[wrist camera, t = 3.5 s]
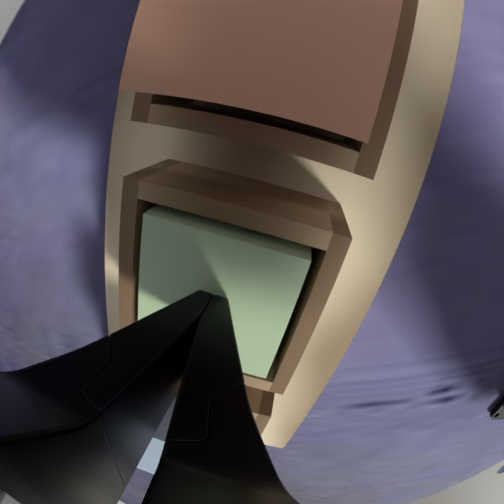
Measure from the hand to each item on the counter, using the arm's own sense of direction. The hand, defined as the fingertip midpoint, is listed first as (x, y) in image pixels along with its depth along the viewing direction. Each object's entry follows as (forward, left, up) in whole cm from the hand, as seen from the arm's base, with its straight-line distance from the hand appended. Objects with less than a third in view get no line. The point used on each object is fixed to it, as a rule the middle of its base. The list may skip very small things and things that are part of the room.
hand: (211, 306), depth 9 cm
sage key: (0, 0, -3) cm, 3 cm away
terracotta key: (0, -7, -1) cm, 8 cm away
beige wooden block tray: (0, 0, -5) cm, 5 cm away
